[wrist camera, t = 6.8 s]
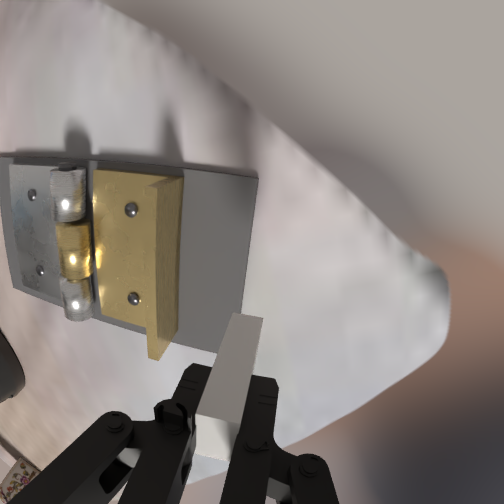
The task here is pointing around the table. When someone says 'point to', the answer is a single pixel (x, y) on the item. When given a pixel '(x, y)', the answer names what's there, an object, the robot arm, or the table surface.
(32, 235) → the fixed leaf
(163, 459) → the robot arm
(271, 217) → the table surface
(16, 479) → the decorative jar
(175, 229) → the loose leaf
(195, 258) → the grey two-tone fixture
